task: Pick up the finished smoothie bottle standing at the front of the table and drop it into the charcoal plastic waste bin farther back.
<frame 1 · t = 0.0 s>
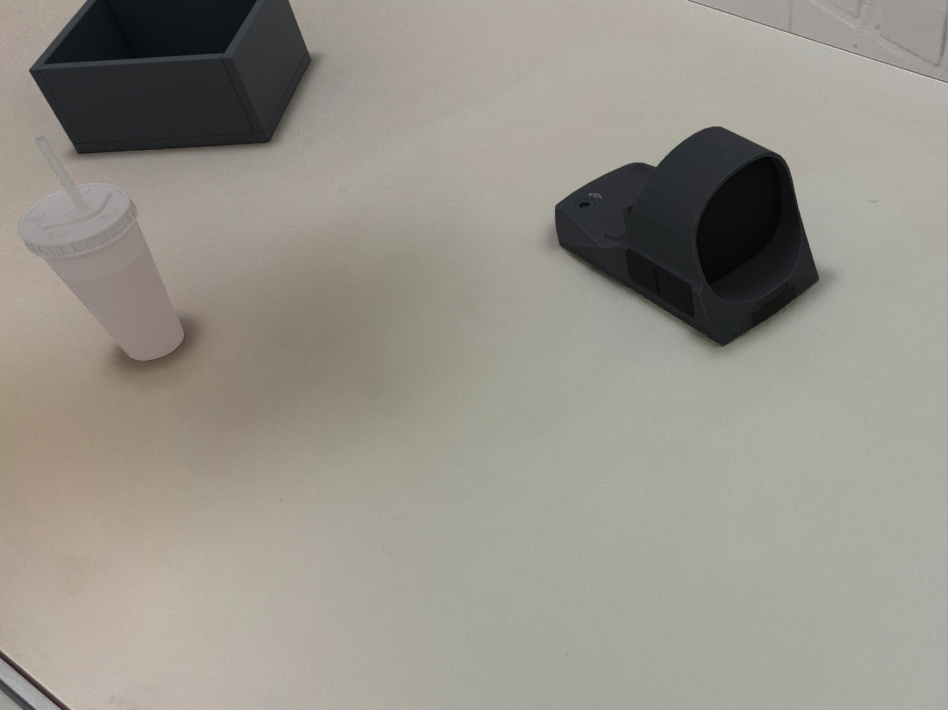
sight: (677, 261, 72), on the table
bin: (199, 103, 89), on the table
smoothie: (156, 344, 70), on the table
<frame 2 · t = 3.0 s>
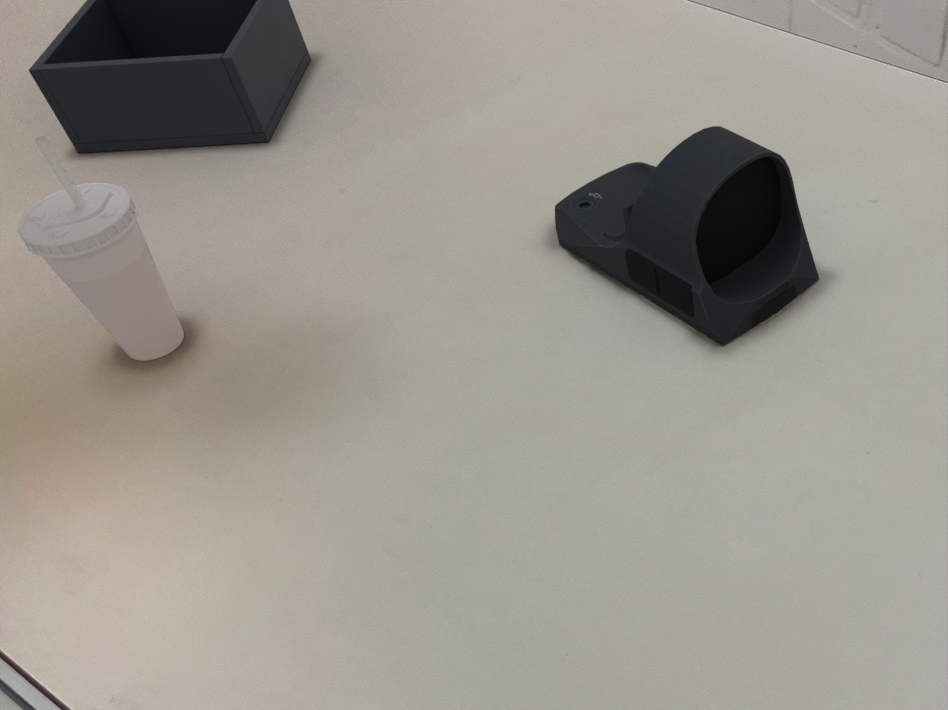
nothing on the table moved.
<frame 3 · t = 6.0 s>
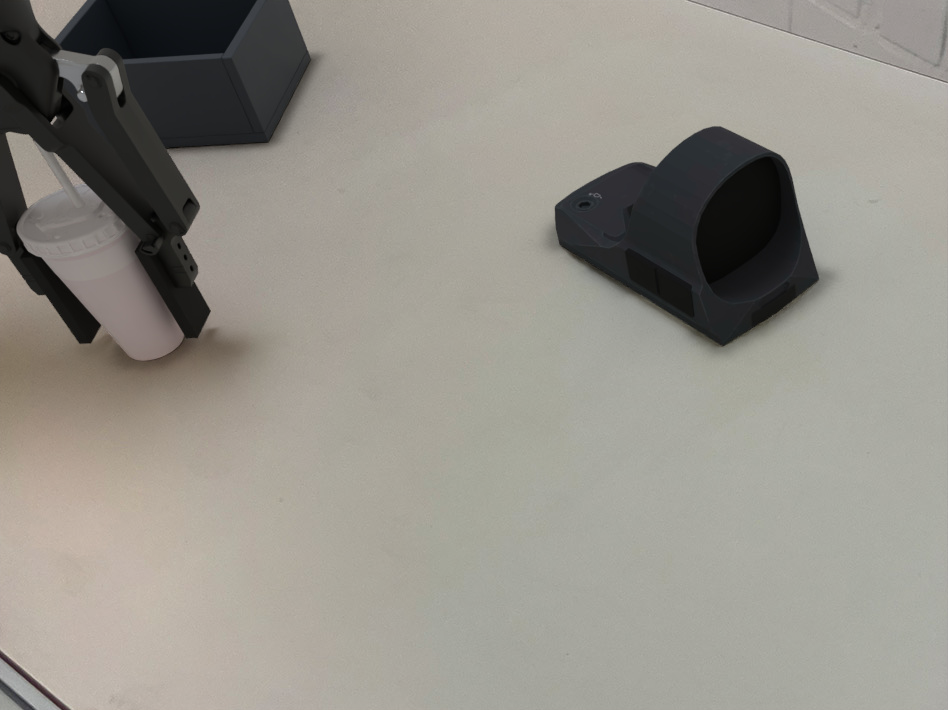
hand: (145, 326, 69), 1 cm above the table, tool pointing down, fingers closed on smoothie, 6 cm apart
smoothie: (156, 344, 70), on the table, touching gripper
everything else where it was.
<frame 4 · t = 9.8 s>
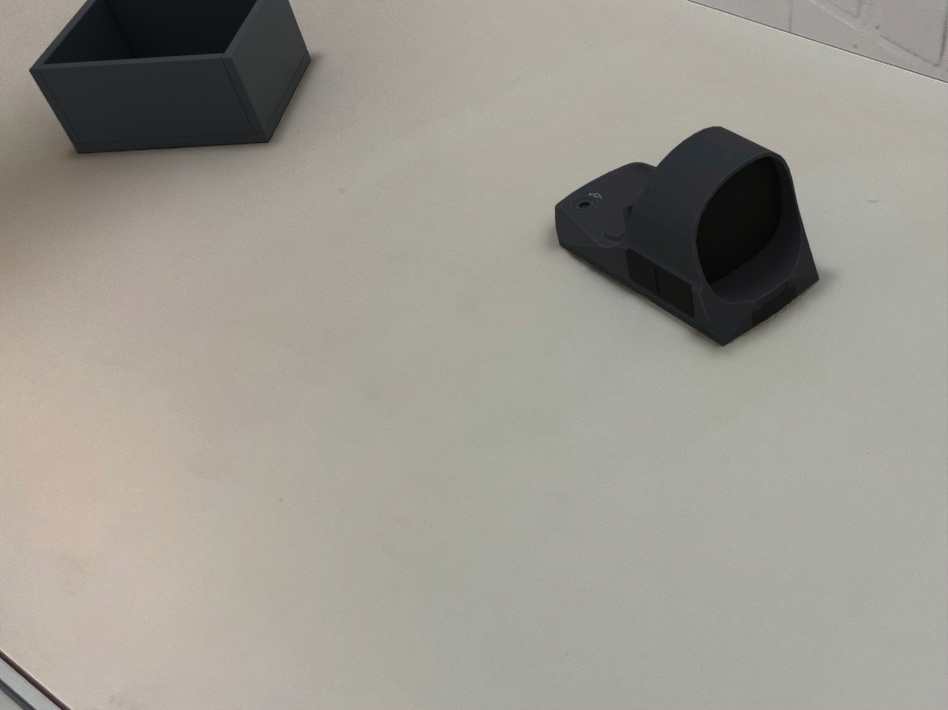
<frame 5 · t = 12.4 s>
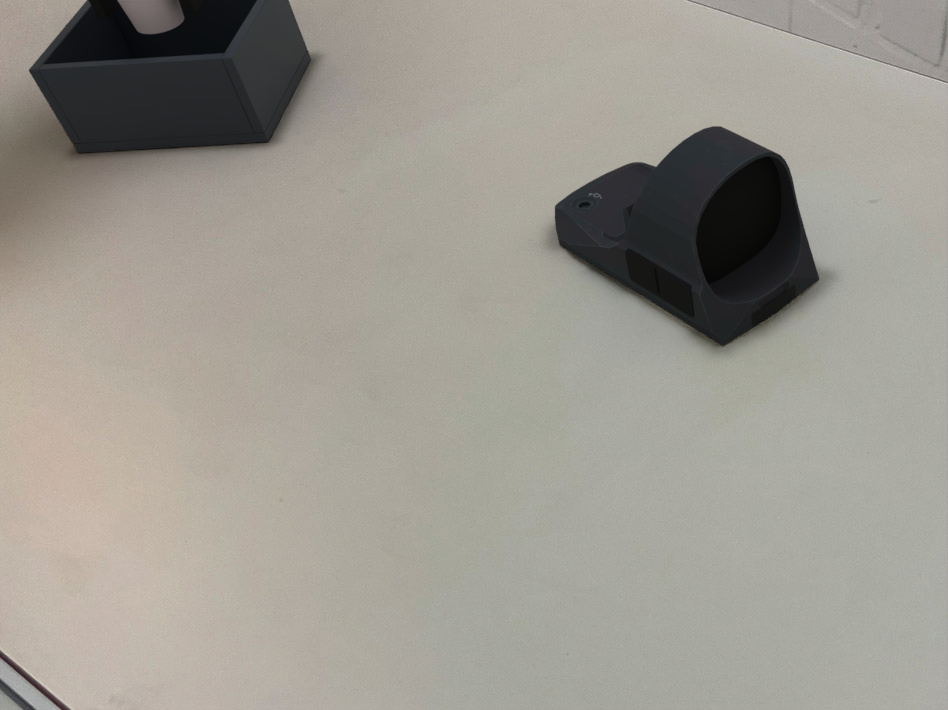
hand: (152, 7, 83), 8 cm above the table, tool pointing down, fingers closed on smoothie, 6 cm apart
smoothie: (161, 25, 84), point 6 cm above the table, touching gripper
everything else where it was.
when the fingers open (4 cm above the table, at t = 14.0 s): smoothie drops 2 cm, resting on bin.
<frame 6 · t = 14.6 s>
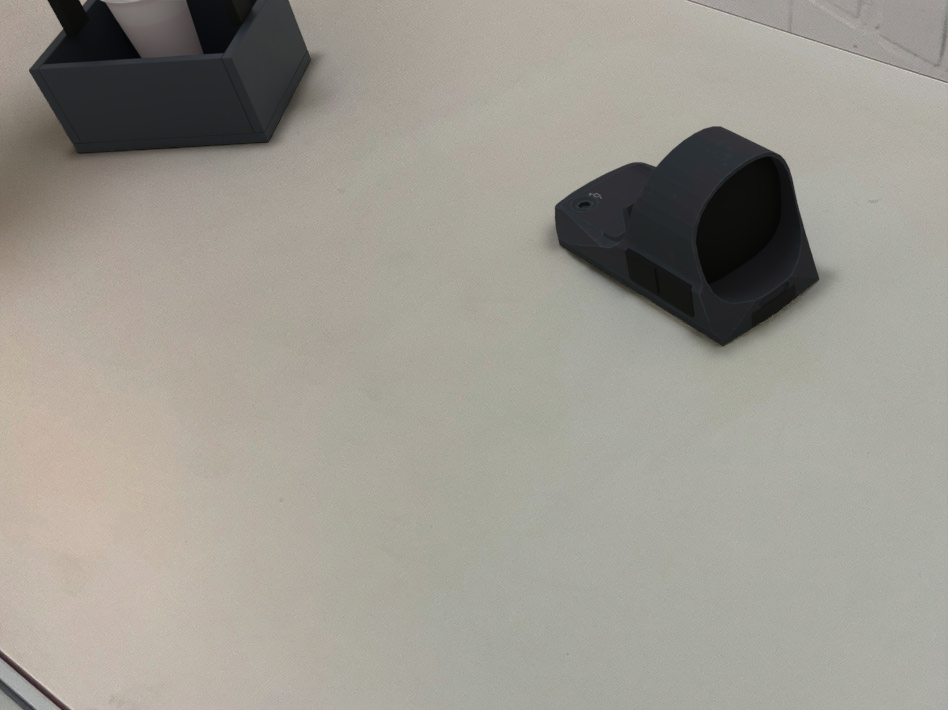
hand: (160, 23, 84), 7 cm above the table, tool pointing down, fingers open, 13 cm apart
smoothie: (193, 96, 89), point 1 cm above the table, touching bin
everything else where it was.
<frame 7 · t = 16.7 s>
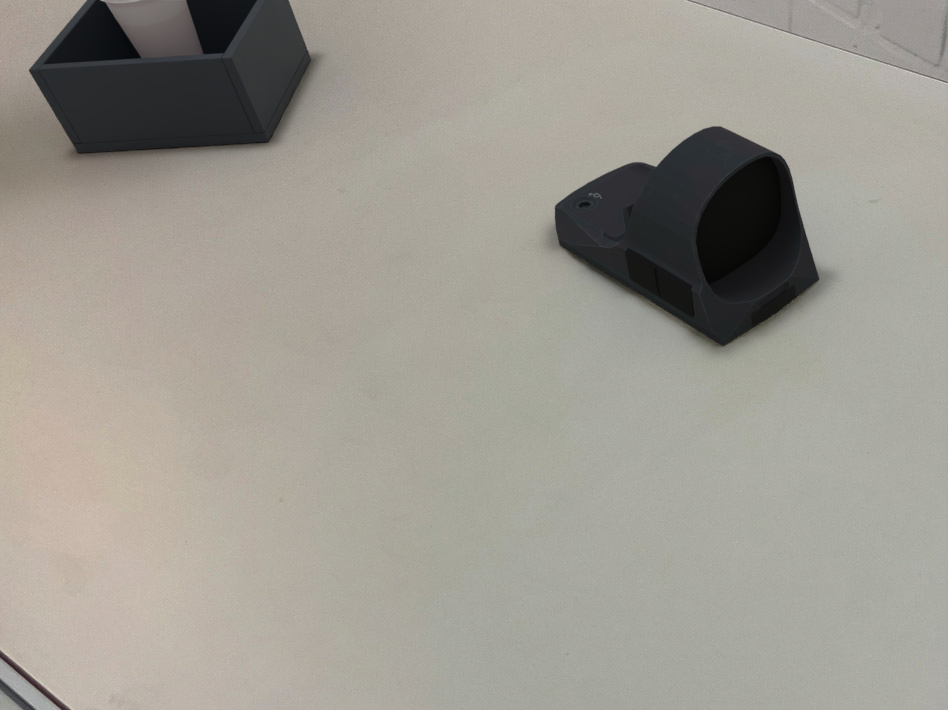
nothing on the table moved.
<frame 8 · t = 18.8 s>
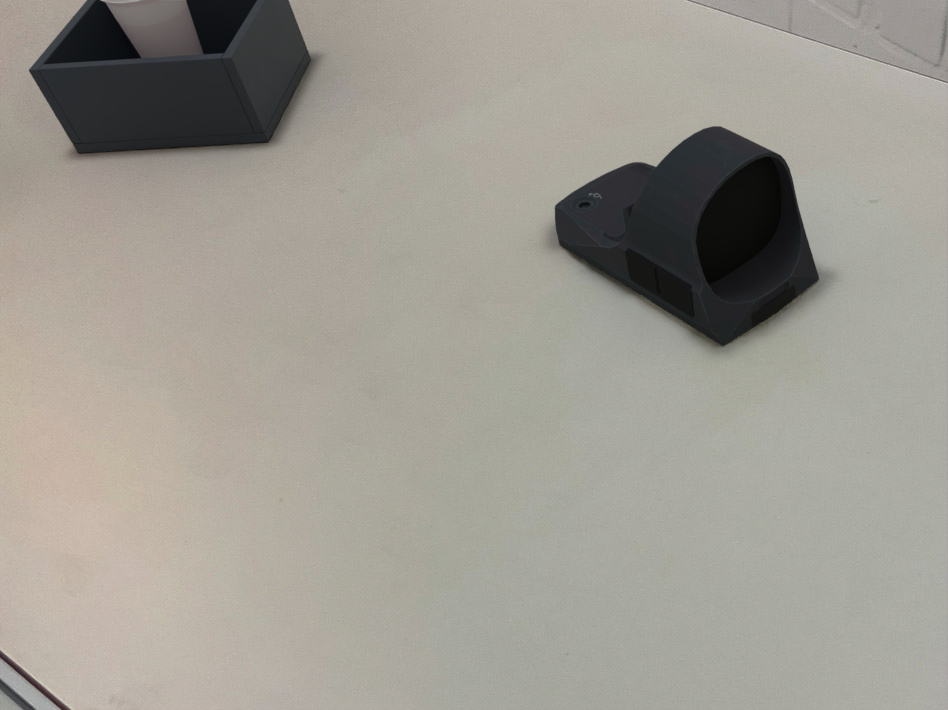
nothing on the table moved.
at the end: smoothie inside the target area in the bin (0.3 cm from its centre), point 0.6 cm above the bin's base; the gripper is holding nothing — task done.
